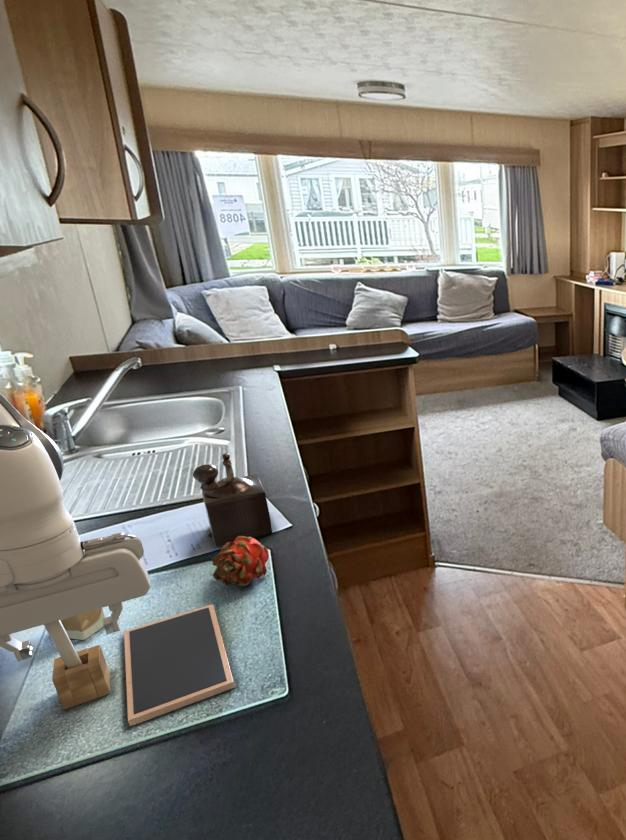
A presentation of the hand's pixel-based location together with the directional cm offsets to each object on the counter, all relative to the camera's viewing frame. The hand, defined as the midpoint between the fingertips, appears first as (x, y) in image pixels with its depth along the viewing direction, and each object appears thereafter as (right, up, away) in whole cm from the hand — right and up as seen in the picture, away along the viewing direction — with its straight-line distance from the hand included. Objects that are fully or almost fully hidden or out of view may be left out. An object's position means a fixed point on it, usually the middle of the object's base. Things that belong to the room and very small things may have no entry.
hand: (71, 643), depth 86 cm
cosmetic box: (-11, -3, +15) cm, 19 cm away
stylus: (0, -7, +3) cm, 8 cm away
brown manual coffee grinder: (-1, +8, +42) cm, 43 cm away
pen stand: (0, -7, +3) cm, 8 cm away
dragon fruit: (+7, +3, +28) cm, 29 cm away
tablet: (+8, -5, +8) cm, 13 cm away
